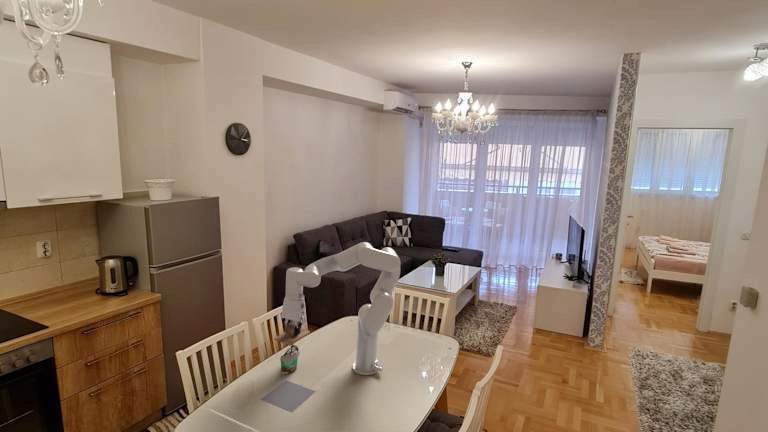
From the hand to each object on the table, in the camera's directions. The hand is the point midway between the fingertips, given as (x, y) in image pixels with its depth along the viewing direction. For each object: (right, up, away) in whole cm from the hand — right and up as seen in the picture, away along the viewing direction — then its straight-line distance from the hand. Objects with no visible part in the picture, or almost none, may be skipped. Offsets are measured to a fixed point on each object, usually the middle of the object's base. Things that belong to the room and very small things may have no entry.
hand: (292, 333), depth 185 cm
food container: (-1, -19, +3) cm, 19 cm away
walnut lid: (0, -2, 0) cm, 2 cm away
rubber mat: (+2, -22, -16) cm, 27 cm away
